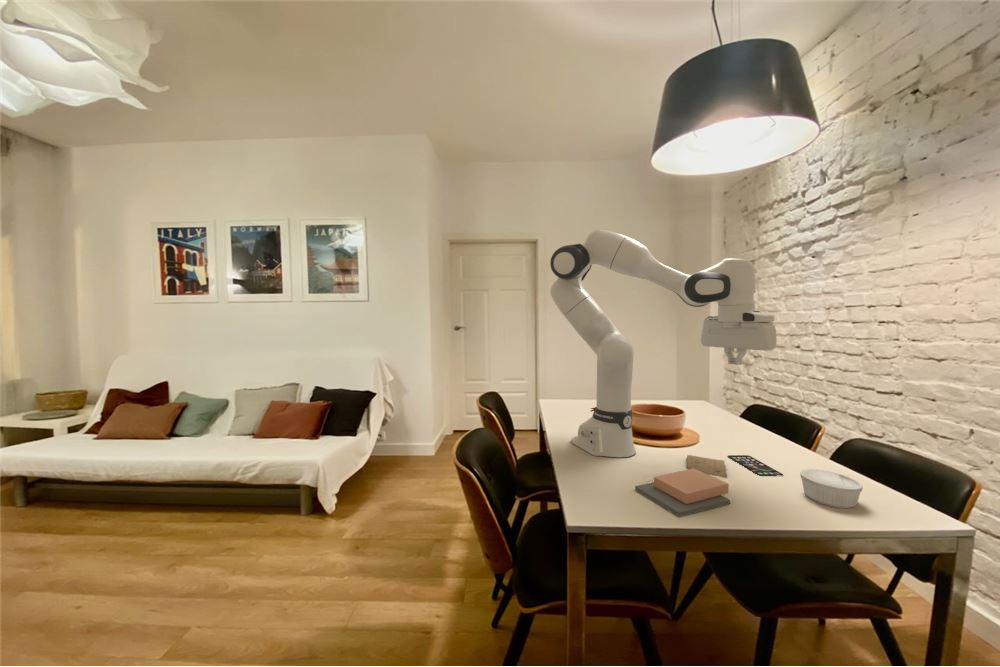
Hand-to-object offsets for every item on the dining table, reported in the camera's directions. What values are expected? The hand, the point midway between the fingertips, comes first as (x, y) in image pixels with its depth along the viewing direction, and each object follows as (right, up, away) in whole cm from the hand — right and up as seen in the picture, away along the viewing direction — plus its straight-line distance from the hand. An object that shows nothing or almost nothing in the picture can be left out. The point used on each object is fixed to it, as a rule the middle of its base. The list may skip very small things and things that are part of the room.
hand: (734, 364), depth 105 cm
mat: (-22, -32, -14) cm, 41 cm away
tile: (-13, -29, -10) cm, 33 cm away
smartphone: (+9, -32, +6) cm, 33 cm away
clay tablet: (-6, -32, +5) cm, 33 cm away
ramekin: (+13, -32, -15) cm, 38 cm away
